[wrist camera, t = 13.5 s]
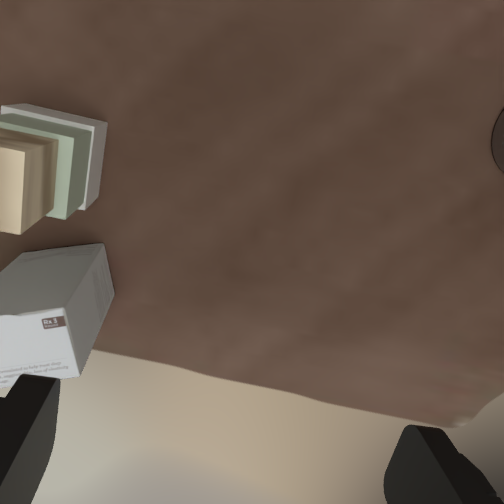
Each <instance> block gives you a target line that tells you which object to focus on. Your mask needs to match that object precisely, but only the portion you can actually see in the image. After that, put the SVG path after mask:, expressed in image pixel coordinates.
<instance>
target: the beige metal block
mask: <svg viewBox="0 0 504 504" xmlns="http://www.w3.org/2000/svg"><path fill="white" fill-rule="evenodd" d="M58 145H59V140H57V139H53V138H48V137H43V136H38V135H34V134H29V133H24V132H19V131H14V130H10V129H5V128H0V231H2V232H8V233H13V234H19V235H21V234H22V233H23V232H25V231H26V230H27V229H28V228H30V227H31V226H32V225H33V224H35V223H36V222H37V221H39V220H40V219H41V218H42V217H44V216H45V215H46V214H47V213H49V212H50V211H51V210H52V209H54V196H55V183H56V170H57V158H58Z"/></svg>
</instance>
